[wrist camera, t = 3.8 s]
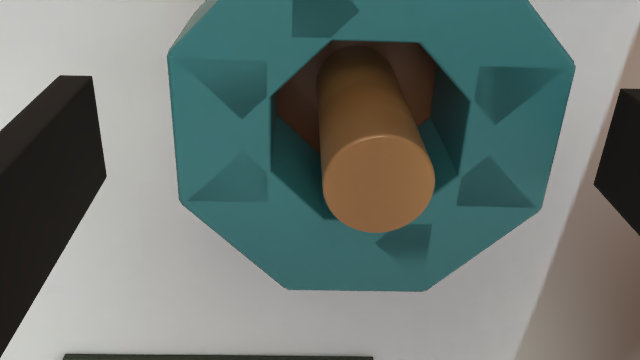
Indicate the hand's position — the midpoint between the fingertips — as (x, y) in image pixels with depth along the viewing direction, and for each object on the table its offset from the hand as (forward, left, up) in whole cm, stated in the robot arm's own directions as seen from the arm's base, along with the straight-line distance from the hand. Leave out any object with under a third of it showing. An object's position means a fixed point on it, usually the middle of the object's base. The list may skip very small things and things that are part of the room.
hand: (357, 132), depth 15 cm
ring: (0, 0, -4) cm, 4 cm away
